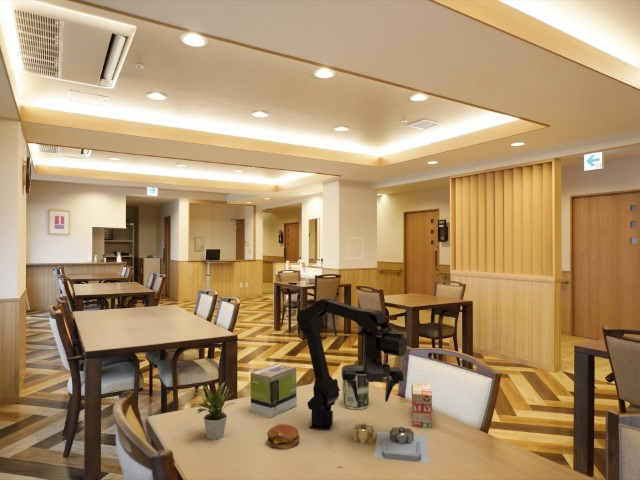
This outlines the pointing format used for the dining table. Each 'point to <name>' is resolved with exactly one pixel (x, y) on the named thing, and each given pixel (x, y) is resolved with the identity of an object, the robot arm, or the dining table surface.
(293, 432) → the burger
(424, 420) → the stack of blocks
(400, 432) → the gear
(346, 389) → the coffee can
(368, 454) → the dining table surface
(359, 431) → the brass gear
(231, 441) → the dining table surface
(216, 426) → the house plant
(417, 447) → the gear board
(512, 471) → the dining table surface
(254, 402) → the tea box
